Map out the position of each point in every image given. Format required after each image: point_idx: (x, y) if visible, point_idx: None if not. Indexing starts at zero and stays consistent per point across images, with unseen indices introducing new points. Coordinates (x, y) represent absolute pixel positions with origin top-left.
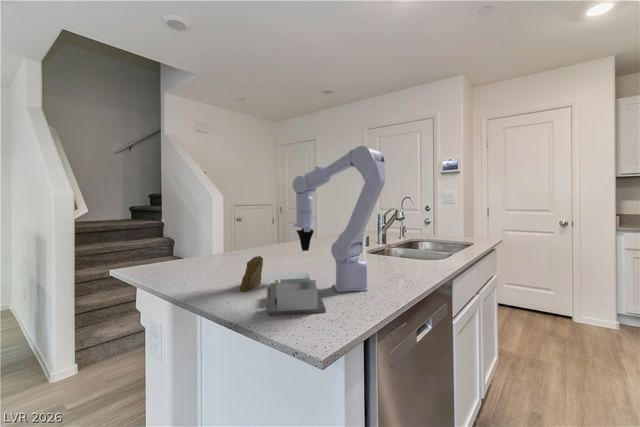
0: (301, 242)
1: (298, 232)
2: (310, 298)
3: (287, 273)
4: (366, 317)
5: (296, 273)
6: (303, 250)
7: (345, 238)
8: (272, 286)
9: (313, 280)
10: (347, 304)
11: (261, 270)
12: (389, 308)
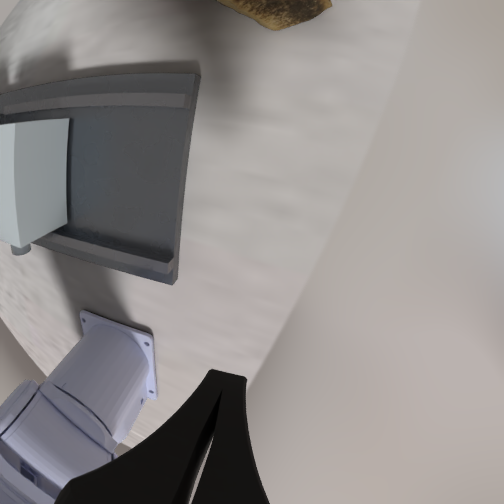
0: (165, 423)
1: (61, 491)
2: None
3: (8, 157)
4: None
5: (6, 197)
6: (208, 376)
7: None
8: (141, 80)
9: (11, 247)
10: (19, 283)
11: (232, 4)
12: (18, 335)
